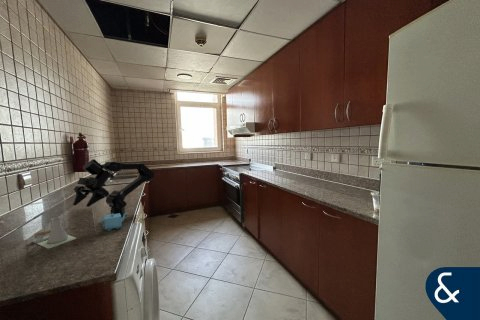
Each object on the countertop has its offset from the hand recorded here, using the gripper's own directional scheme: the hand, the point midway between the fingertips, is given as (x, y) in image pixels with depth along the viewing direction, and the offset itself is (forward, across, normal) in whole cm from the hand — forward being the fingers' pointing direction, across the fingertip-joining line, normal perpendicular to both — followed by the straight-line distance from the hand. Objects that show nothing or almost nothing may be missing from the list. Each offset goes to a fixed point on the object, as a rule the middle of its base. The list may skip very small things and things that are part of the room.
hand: (80, 205), depth 101 cm
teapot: (+4, +14, +14) cm, 20 cm away
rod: (+15, -7, 0) cm, 16 cm away
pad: (+17, +1, 0) cm, 17 cm away
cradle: (+16, -7, +2) cm, 18 cm away
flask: (+17, +1, +1) cm, 17 cm away
